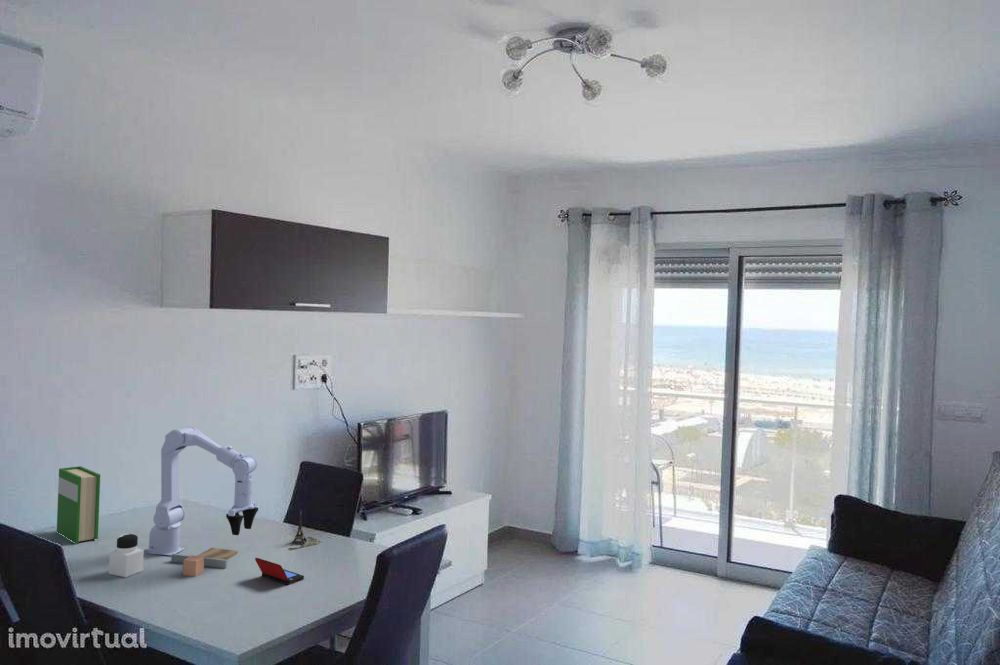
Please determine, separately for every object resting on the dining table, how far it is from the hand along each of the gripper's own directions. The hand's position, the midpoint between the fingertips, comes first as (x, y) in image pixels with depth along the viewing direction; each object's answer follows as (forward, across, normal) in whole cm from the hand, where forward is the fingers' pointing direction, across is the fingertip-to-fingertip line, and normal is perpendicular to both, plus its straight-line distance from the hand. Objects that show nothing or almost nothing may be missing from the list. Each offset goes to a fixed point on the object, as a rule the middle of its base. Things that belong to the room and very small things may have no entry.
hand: (241, 531), depth 256 cm
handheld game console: (+10, -11, -20) cm, 26 cm away
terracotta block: (+10, -16, +7) cm, 20 cm away
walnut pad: (+10, +1, +10) cm, 14 cm away
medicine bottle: (+10, -22, +27) cm, 37 cm away
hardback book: (+10, +3, +68) cm, 68 cm away
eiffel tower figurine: (+11, +25, -10) cm, 29 cm away
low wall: (+10, -8, +11) cm, 17 cm away
